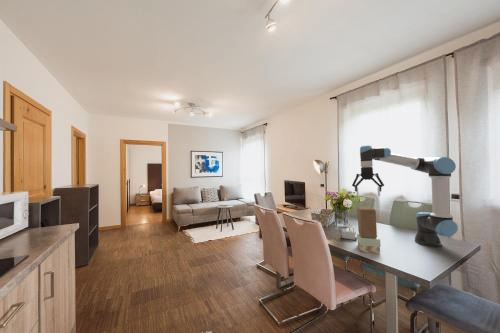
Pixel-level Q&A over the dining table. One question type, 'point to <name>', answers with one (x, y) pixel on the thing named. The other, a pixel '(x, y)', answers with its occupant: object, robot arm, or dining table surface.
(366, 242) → the tower top
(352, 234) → the white toy machine
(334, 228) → the dining table surface
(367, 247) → the tower base
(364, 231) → the wooden block
